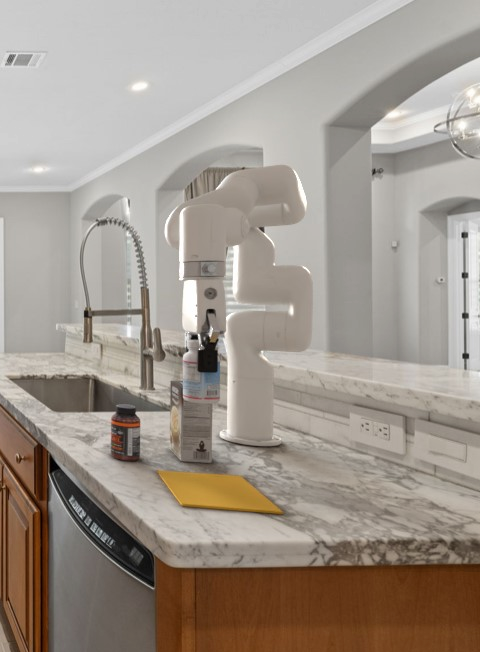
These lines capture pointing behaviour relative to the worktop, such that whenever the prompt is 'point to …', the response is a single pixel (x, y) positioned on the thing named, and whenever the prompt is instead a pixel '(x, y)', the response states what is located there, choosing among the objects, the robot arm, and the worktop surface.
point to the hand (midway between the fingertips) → (200, 368)
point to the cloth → (216, 492)
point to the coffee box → (189, 427)
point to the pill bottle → (199, 378)
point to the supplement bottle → (125, 433)
